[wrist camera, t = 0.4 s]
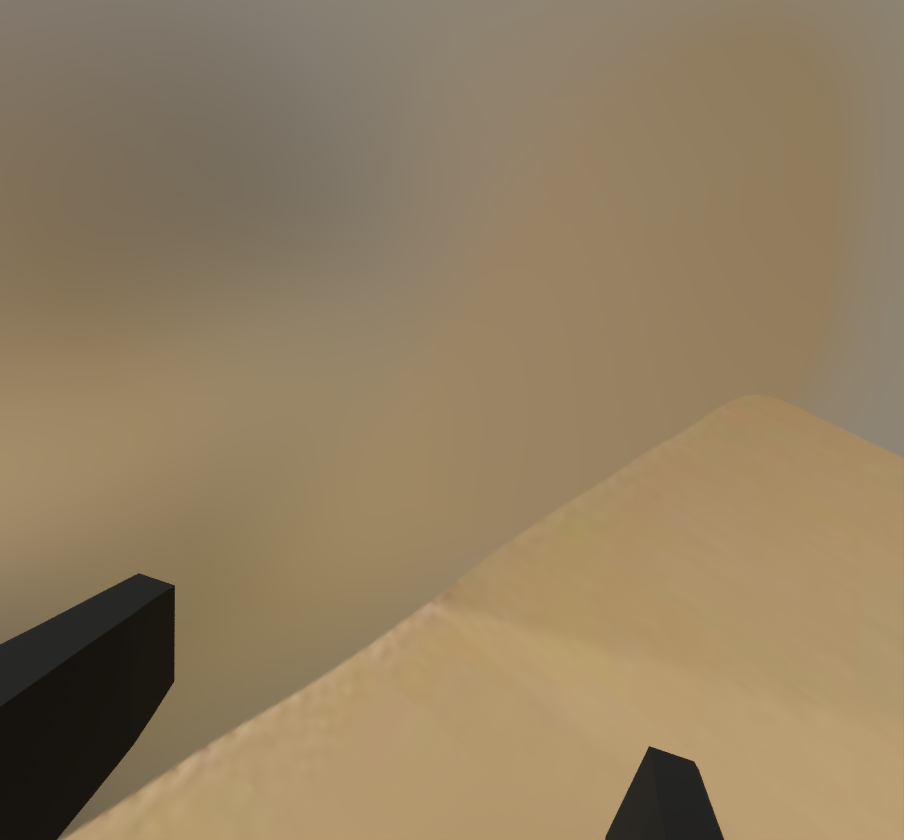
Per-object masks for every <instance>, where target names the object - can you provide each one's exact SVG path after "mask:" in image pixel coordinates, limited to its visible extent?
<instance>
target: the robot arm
mask: <svg viewBox="0 0 904 840" xmlns="http://www.w3.org/2000/svg"><path fill="white" fill-rule="evenodd" d="M174 611H175V586H174V585H172V584H169V583H166V582H163V581H160V580H157V579H154V578H151V577H148V576H145V575H142V574H137V575H135V576H133V577H131V578H129V579H127V580H125V581H123V582H121V583H119V584H117V585H115V586H113V587H111V588H109V589H107V590H106V591H103V592H101V593H99V594H97V595H96V596H94V597H92V598H90V599H88V600H86V601H84V602H82V603H80V604H78V605H76V606H75V607H73V608H71V609H69V610H67V611H65V612H63V613H61V614H59V615H57V616H55V617H53V618H51V619H50V620H48V621H46V622H44V623H42V624H40V625H38V626H36V627H34V628H32V629H30V630H28V631H26V632H24V633H22V634H20V635H18V636H16V637H14V638H12V639H10V640H8V641H6V642H4V643H2V644H0V840H57V839H58V837H59V836H60V835H61V834H62V832H63V831H64V830H65V829H66V828H67V826H68V825H69V824H70V822H71V821H72V820H73V819H74V817H76V815H77V814H78V812H80V810H81V809H82V808H83V807H84V806H85V804H86V803H87V802H88V801H89V799H90V798H91V797H92V796H93V795H94V793H95V792H96V791H97V790H98V788H99V787H100V786H101V785H102V783H103V782H104V781H105V779H106V778H107V777H108V776H109V775H110V773H111V772H112V771H113V770H114V768H115V767H116V766H117V765H118V764H119V762H120V761H121V760H122V758H123V757H124V756H125V755H126V753H127V752H128V751H129V750H130V748H131V747H132V746H133V745H134V743H135V742H136V740H137V739H138V737H139V736H140V734H141V732H142V731H143V730H144V728H145V727H146V725H147V723H148V722H149V721H150V719H151V717H152V716H153V714H154V713H155V711H156V710H157V708H158V706H159V705H160V703H161V702H162V700H163V698H164V697H165V695H166V694H167V692H168V690H169V689H170V687H171V686H172V684H173V683H174V631H175V630H174V626H175V624H174V623H175V622H174V620H175V618H174V617H175V614H174V613H175V612H174ZM605 840H724V838H723V835H722V833H721V830H720V827H719V825H718V822H717V819H716V816H715V814H714V811H713V808H712V806H711V803H710V800H709V797H708V794H707V792H706V789H705V786H704V783H703V780H702V777H701V775H700V772H699V769H698V768H697V766H696V764H695V762H694V761H691V760H688V759H685V758H682V757H679V756H676V755H673V754H670V753H667V752H664V751H662V750H659V749H656V748H653V747H650V746H649V748H648V750H647V752H646V754H645V756H644V758H643V760H642V762H641V764H640V766H639V768H638V771H637V773H636V775H635V777H634V779H633V781H632V783H631V785H630V787H629V789H628V791H627V793H626V795H625V798H624V800H623V802H622V804H621V806H620V808H619V810H618V812H617V814H616V816H615V818H614V820H613V822H612V824H611V827H610V829H609V831H608V833H607V835H606V838H605Z"/></svg>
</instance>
